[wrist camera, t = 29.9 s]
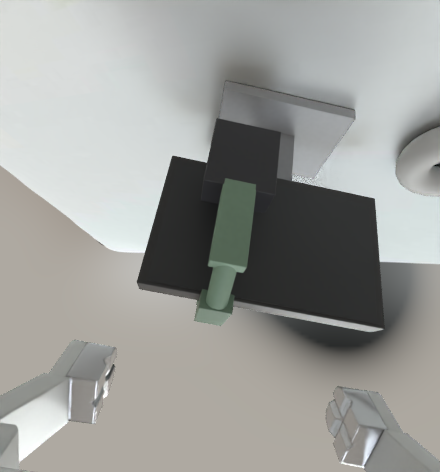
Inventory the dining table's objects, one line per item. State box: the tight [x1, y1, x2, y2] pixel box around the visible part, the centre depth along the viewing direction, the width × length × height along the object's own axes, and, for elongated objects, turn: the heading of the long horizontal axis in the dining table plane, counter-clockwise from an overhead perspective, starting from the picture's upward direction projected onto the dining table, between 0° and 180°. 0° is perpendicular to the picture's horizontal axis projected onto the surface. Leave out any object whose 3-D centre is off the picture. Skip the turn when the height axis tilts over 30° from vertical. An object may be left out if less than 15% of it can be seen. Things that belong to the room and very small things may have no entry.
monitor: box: [137, 81, 385, 332], centre depth 30 cm, size 10×20×20 cm, turn 82°
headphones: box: [194, 118, 281, 326], centre depth 27 cm, size 13×5×14 cm, turn 172°
